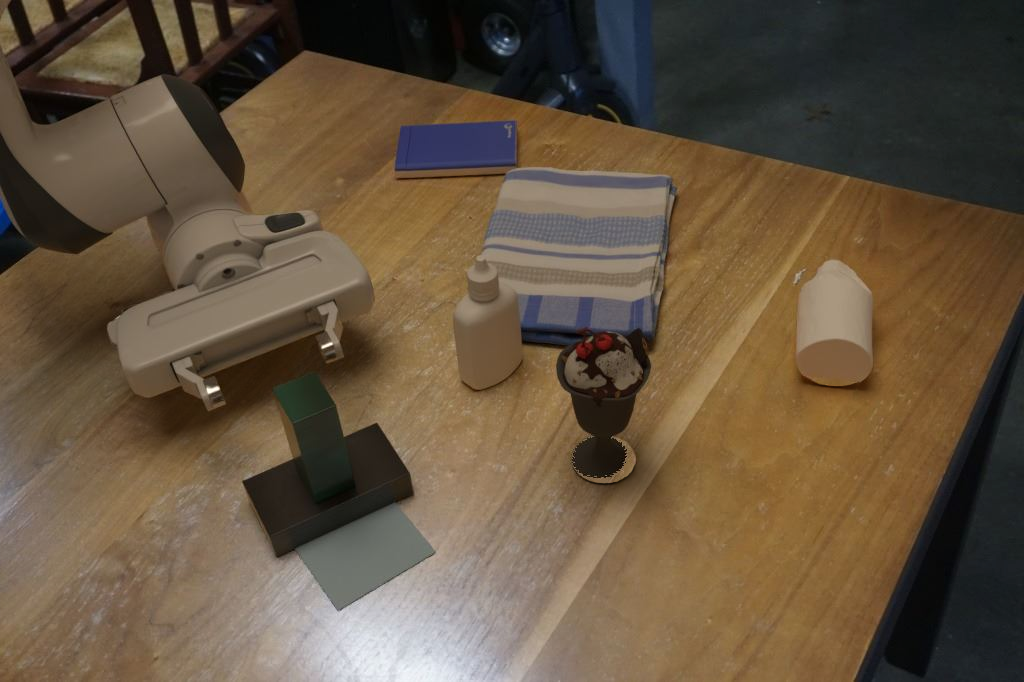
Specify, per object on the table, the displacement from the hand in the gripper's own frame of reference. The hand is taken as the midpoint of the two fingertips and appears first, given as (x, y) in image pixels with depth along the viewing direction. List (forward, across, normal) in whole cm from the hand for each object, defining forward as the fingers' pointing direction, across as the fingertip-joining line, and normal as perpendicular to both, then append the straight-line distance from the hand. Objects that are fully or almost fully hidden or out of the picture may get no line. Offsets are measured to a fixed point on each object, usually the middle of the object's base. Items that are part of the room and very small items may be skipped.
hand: (275, 378), depth 83 cm
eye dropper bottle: (+1, +17, +8) cm, 19 cm away
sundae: (+14, +20, +8) cm, 26 cm away
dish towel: (-8, +30, +9) cm, 32 cm away
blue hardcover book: (-30, +27, +9) cm, 41 cm away
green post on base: (+7, 0, +7) cm, 10 cm away
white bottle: (+11, +43, +9) cm, 46 cm away
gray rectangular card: (+10, +1, +7) cm, 12 cm away
